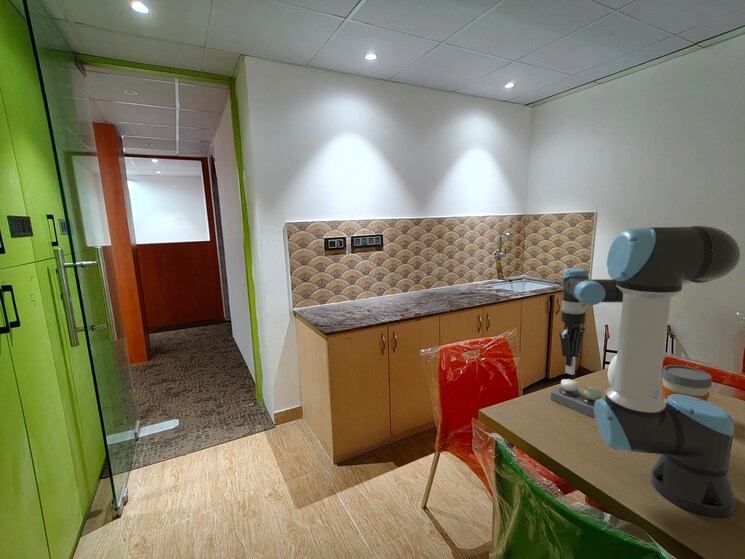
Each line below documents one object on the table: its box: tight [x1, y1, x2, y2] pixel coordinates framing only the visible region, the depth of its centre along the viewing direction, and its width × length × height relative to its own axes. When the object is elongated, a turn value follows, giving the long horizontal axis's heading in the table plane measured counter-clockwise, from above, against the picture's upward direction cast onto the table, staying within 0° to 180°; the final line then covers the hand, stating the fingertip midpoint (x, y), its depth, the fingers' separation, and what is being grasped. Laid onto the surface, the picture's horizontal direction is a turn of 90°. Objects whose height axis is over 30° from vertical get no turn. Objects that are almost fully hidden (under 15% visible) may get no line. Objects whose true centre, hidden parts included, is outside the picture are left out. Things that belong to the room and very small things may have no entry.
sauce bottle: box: [607, 354, 617, 387], centre depth 135 cm, size 8×8×18 cm
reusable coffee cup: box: [661, 364, 713, 403], centre depth 118 cm, size 12×13×15 cm
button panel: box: [550, 386, 604, 419], centre depth 123 cm, size 10×24×4 cm, turn 32°
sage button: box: [582, 386, 603, 400], centre depth 123 cm, size 6×6×2 cm
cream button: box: [560, 378, 579, 391], centre depth 130 cm, size 6×6×2 cm
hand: (569, 373), depth 129 cm, fingers closed
